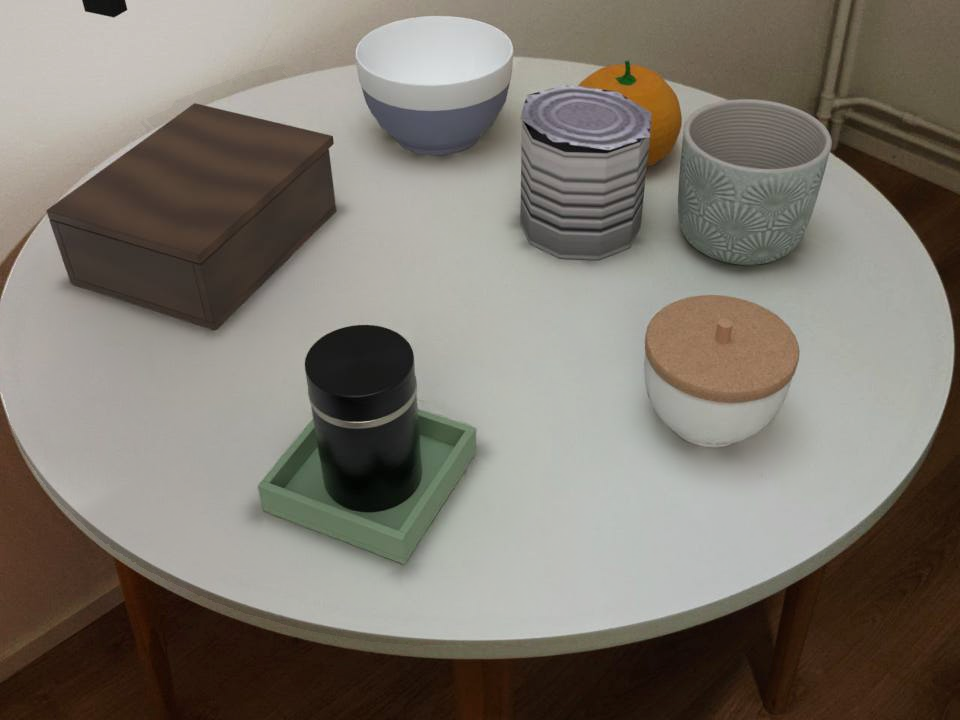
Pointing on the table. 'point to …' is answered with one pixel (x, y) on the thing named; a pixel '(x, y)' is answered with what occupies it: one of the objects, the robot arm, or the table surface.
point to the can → (582, 171)
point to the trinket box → (718, 368)
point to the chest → (220, 277)
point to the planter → (750, 179)
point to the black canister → (365, 416)
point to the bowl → (435, 80)
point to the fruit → (644, 102)
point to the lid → (192, 181)
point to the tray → (386, 533)
